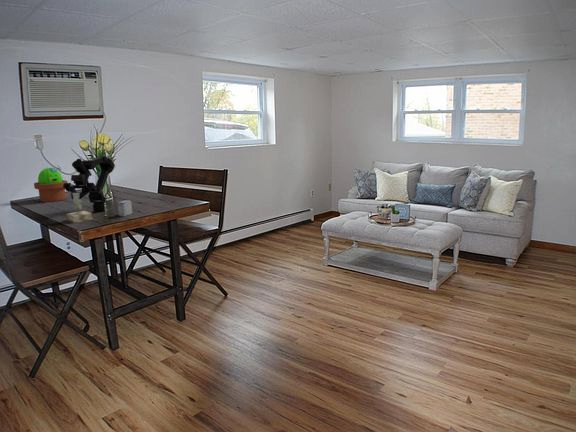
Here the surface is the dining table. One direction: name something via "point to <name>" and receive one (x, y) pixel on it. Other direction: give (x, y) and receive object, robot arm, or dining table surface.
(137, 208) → the dining table surface
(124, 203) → the medicine box
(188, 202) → the dining table surface
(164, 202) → the dining table surface
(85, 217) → the beige shallow bowl
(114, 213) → the dining table surface
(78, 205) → the tea tin
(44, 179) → the potted cactus
